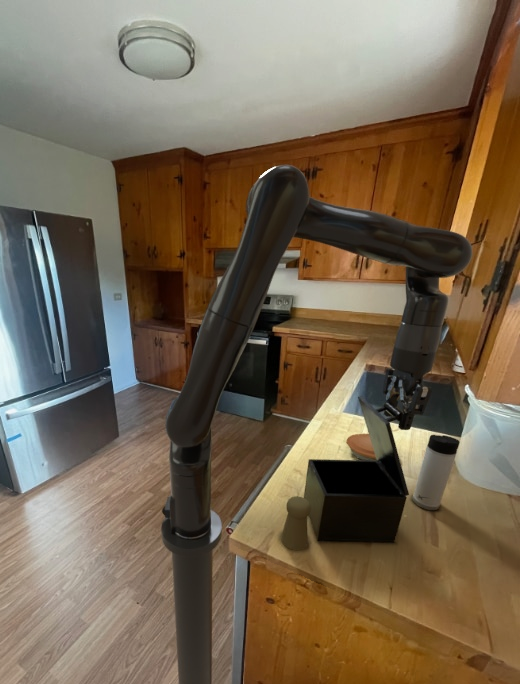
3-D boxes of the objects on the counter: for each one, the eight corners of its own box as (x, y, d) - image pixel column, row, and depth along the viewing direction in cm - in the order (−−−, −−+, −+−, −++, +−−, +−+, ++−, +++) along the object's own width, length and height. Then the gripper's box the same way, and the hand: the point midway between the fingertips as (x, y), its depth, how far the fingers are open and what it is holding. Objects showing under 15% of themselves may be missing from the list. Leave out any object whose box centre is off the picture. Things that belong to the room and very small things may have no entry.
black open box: (317, 541, 75) (324, 495, 70) (303, 499, 89) (308, 459, 84) (394, 543, 75) (407, 497, 70) (368, 501, 89) (377, 460, 84)
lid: (385, 424, 64) (414, 413, 63) (357, 396, 78) (381, 388, 77) (405, 496, 70) (432, 487, 69) (376, 459, 84) (398, 452, 83)
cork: (304, 530, 78) (309, 492, 74) (310, 550, 73) (316, 510, 69) (279, 529, 78) (283, 491, 74) (283, 550, 73) (287, 510, 69)
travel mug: (418, 510, 86) (438, 442, 78) (408, 494, 92) (426, 430, 84) (444, 512, 85) (466, 444, 77) (432, 496, 91) (452, 432, 83)
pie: (394, 471, 102) (398, 457, 100) (342, 459, 108) (344, 446, 106) (394, 449, 115) (397, 436, 113) (347, 439, 121) (349, 427, 119)
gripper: (380, 338, 72) (365, 408, 78) (415, 354, 59) (394, 437, 65) (414, 340, 72) (397, 409, 78) (457, 356, 59) (432, 438, 65)
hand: (396, 422), depth 72 cm, fingers closed on lid, 6 cm apart
